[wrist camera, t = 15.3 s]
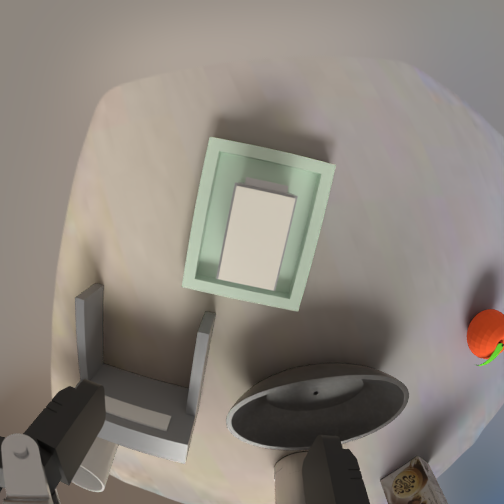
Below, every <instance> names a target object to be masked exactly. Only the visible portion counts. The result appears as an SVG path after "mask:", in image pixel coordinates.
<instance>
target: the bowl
mask: <svg viewBox="0 0 504 504" xmlns="http://www.w3.org/2000/svg"><path fill="white" fill-rule="evenodd" d="M408 398H409V392H408V389H407V387H406V386H405V385H404V384H403V383H402V382H400V381H399V380H397V379H396V378H394V377H392V376H391V375H389V374H387V373H384V372H382V371H379V370H376V369H373V368H370V367H366V366H361V365H355V364H344V363H322V364H313V365H306V366H301V367H297V368H293V369H289V370H286V371H283V372H280V373H278V374H275V375H273V376H271V377H269V378H267V379H265V380H263V381H261V382H259V383H258V384H256V385H255V386H253V387H252V388H250V389H249V390H248V391H247V392H246V393H244V394H243V395H242V396H241V397H240V398H239V399H238V401H237V402H236V403H235V404H234V406H233V407H232V408H231V410H230V411H229V413H228V415H227V418H226V425H227V428H228V429H229V431H230V432H231V433H232V434H233V435H234V436H235V437H236V438H238V439H239V440H241V441H243V442H245V443H248V444H251V445H254V446H257V447H262V448H267V449H275V450H308V449H310V448H311V446H312V444H313V442H314V441H315V439H316V437H317V436H318V435H329V436H338V437H339V438H340V441H341V444H343V443H347V442H350V441H353V440H356V439H359V438H362V437H364V436H367V435H369V434H371V433H374V432H376V431H377V430H379V429H381V428H383V427H384V426H386V425H387V424H389V423H390V422H392V421H393V420H394V419H395V418H396V417H397V416H398V415H399V414H400V413H401V412H402V411H403V410H404V408H405V406H406V404H407V402H408Z"/></svg>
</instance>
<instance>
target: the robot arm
mask: <svg viewBox="0 0 504 504" xmlns="http://www.w3.org/2000/svg"><path fill="white" fill-rule="evenodd" d="M105 418H106V407H105V392H104V387H103V386H102V385H100V384H97V383H95V382H92V381H90V380H87V379H84V380H83V381H82V382H81V383H80V384H79V385H78V386H77V388H76V389H75V388H73V387H71V386H69V387H67V388H65V389H63V390H61V391H59V392H58V393H57V394H56V396H55V397H54V398H53V399H52V402H50V403H49V404H48V405H47V406H46V409H44V410H43V411H42V412H41V413H40V414H39V416H38V417H37V418H36V419H35V420H34V422H33V423H32V424H31V426H30V427H29V428H28V429H27V430H26V431H25V433H23V434H12V435H10V436H8V437H6V438H5V437H1V436H0V491H1V490H2V488H6V494H7V497H6V499H4V500H3V504H60V500H59V497H58V494H57V490H56V487H57V485H58V483H59V482H60V481H61V482H63V483H65V484H67V485H70V483H71V481H72V479H73V478H74V476H75V474H76V472H77V470H78V469H79V467H80V465H81V463H82V462H83V460H84V458H85V456H86V455H87V453H88V451H89V449H90V448H91V446H92V444H93V443H94V441H95V439H96V437H97V436H98V434H99V432H100V431H101V429H102V427H103V425H104V422H105ZM359 470H360V468H359V465H358V462H357V459H356V457H355V456H354V455H353V454H352V452H351V451H350V450H349V449H343V448H342V444H341V441H340V438H339V437H338V436H329V435H318V436H317V437H316V439H315V441H314V442H313V444H312V446H311V448H310V450H309V451H308V452H300V453H295V454H291V455H289V456H286V457H284V458H282V459H281V460H280V461H278V462H277V464H276V465H275V468H274V480H275V504H370V502H369V499H368V495H367V492H366V488H365V485H364V482H363V480H362V475H361V472H360V471H359Z"/></svg>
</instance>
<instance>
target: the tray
mask: <svg viewBox="0 0 504 504" xmlns="http://www.w3.org/2000/svg"><path fill="white" fill-rule="evenodd" d="M335 167H336V165H334V164H330V163H326V162H323V161H319V160H315V159H311V158H307V157H303V156H299V155H295V154H291V153H287V152H283V151H278V150H274V149H269V148H265V147H260V146H255V145H251V144H246V143H241V142H235V141H230V140H225V139H219V138H214V137H210V138H209V142H208V147H207V151H206V156H205V161H204V165H203V170H202V175H201V180H200V185H199V190H198V195H197V200H196V205H195V211H194V216H193V222H192V227H191V233H190V239H189V244H188V250H187V256H186V263H185V269H184V275H183V282H182V287H184V288H188V289H193V290H197V291H201V292H206V293H210V294H215V295H219V296H224V297H228V298H233V299H238V300H242V301H247V302H252V303H257V304H262V305H267V306H272V307H277V308H282V309H287V310H292V311H298V310H299V307H300V303H301V300H302V296H303V293H304V289H305V286H306V282H307V279H308V275H309V272H310V268H311V264H312V261H313V257H314V253H315V249H316V246H317V242H318V238H319V234H320V230H321V226H322V222H323V218H324V214H325V210H326V206H327V202H328V197H329V193H330V189H331V184H332V180H333V176H334V171H335ZM246 177H249V178H253V179H258V180H263V181H268V182H272V183H277V184H281V185H285V186H289V187H288V191H287V192H290V193H292V194H294V195H296V196H298V198H297V202H296V206H295V211H294V215H293V219H292V224H291V228H290V232H289V236H288V241H287V245H286V249H285V253H284V257H283V261H282V265H281V269H280V273H279V277H278V282H277V286H276V289H275V291H272V290H267V289H262V288H257V287H252V286H248V285H243V284H238V283H233V282H228V281H224V280H219V279H216V277H217V271H218V266H219V261H220V255H221V250H222V245H223V240H224V235H225V230H226V225H227V220H228V215H229V210H230V205H231V200H232V195H233V190H234V185H235V183H236V182H244V183H245V181H246Z"/></svg>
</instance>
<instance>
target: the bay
mask: <svg viewBox="0 0 504 504" xmlns="http://www.w3.org/2000/svg"><path fill="white" fill-rule="evenodd" d="M103 290H104V285H101V284H98V283H95V284H93V285H92V286H90V287H89V288H88V289H86V290H85V291H83V292H82V293H81V294H79V295H78V296H76V297H75V309H76V334H77V349H78V361H79V371H80V379H81V380H80V382H79V383H78V384H77V386H78V385H79V384H80V383H81V382H82V381H83V380H84V379H87V380H90V381H92V382H95V383H97V384H100V385H102V386H103V387H104V392H105V407H106V418H105V422H104V425H103V427H102V429H101V431H100V432H99V434H98V436H97V437H99V438H102V439H104V440H107V441H110V442H112V443H115V444H118V445H121V446H124V447H127V448H130V449H133V450H136V451H139V452H142V453H146V454H149V455H152V456H156V457H160V458H163V459H167V460H171V461H175V462H179V463H183V464H185V463H186V459H187V455H188V451H189V447H190V442H191V438H192V434H193V430H194V426H195V422H196V418H197V414H198V409H199V403H200V397H201V392H202V386H203V380H204V375H205V369H206V364H207V358H208V353H209V347H210V342H211V336H212V331H213V326H214V320H215V315H216V314H215V313H211V312H206V311H205V314H204V317H203V319H202V322H201V324H200V327H199V330H198V333H197V339H196V345H195V352H194V358H193V365H192V372H191V378H190V385H189V388H185V387H181V386H177V385H173V384H169V383H165V382H162V381H158V380H155V379H151V378H148V377H144V376H141V375H138V374H134V373H131V372H128V371H125V370H122V369H119V368H116V367H113V366H110V365H107V364H104V361H103ZM77 386H76V387H75V389H76V388H77Z"/></svg>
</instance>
